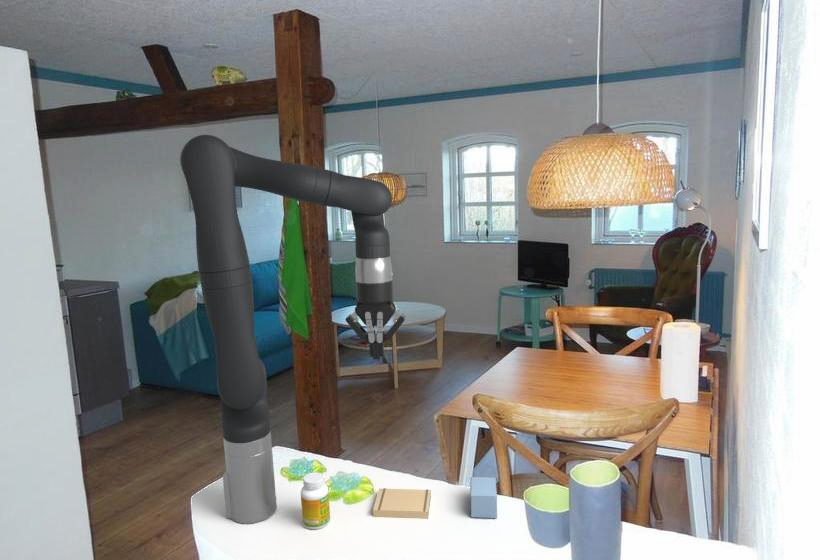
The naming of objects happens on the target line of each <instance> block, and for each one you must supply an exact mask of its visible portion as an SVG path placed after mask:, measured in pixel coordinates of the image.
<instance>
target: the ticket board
mask: <svg viewBox="0 0 820 560" xmlns="http://www.w3.org/2000/svg"><path fill="white" fill-rule="evenodd" d="M431 498H432V491H431V489H412V488H411V489H407V488H386V487H385V488H380V487H379V488H378V491H377V495H376V498H375V502H374V504H373V509H372V516H373V518H376V517H377V518H378V517H379V518H401V519H402V518H404V519H429V515H430V506H431Z"/></svg>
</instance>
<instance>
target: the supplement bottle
mask: <svg viewBox="0 0 820 560" xmlns="http://www.w3.org/2000/svg"><path fill="white" fill-rule="evenodd" d="M302 482H303V483H302V484H303V487H302V488H301V489H300V503H301V515H302V517H301V518H302V519H301V520H302V525H303V526H304V527H305V528H307V529H309V530H319V529H320V530H321V529H324V528H325V527H326V526H328V525H329V523H330V522H331V514H330V513H331V511H330V495H329V487H328V485H327V484H326V483H325V477H324V474H323V473H321V472H316V471H315V472H310V473H307V474H305V475H304V476H303V481H302Z"/></svg>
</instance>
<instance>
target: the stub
mask: <svg viewBox="0 0 820 560" xmlns="http://www.w3.org/2000/svg"><path fill="white" fill-rule="evenodd" d="M469 486H470V491H469V492H470V494H469V495H470V497H469V499H470V501H471V503H470V505H471V507H470V508H471V509H470V512H471V513H470V515H471V516H470V517H471V518H481V519H482V518H483V519H484V518H485V519H487V518H489V519H490V518H491V519H497V518H498V495H497V480H496V477H488V476H487V477H483V476H482V477H481V476H480V477H478V476H471V477H470V485H469Z"/></svg>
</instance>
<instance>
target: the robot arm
mask: <svg viewBox="0 0 820 560" xmlns="http://www.w3.org/2000/svg"><path fill="white" fill-rule="evenodd" d="M179 160H180V167H181V170H182V173H183V175H184V179H185V181H186V185H187V189H188V192H189V196H190V200H191V204H192V208H193V212H194V218H195V219H194V220H195V246H196V247H195V248H196V259H197V270H198V275H199V282H200V287H201V293H202V297H203V302H204V306H205V309H206V313H207V314H206V315H207V317H208V322H209V326H210V328H211V331H212V332H211V333H212V336H213V340H214V341H213V342H214V346H215V359H216V373H217V374H216V375H217V376H216V377H217V379H216V380H217V381H216V388H217V392H218V395H219V397H220V398H219V399H220V407H221V429H222V439H223V448H224V460H225V468H226V470H225V472H224V473H223V474H222V483H223V492H224V493H223V494H224V503H225V513H226V515H225V516H226V519H232V520H233V521H235V522H237V523H240V524H255V523H259V522H262V521H264V520H267V519H268V518H270V517H271V516H272V515H274V514H275V513H276V510H277V495H276V492H277V491H276V482H275V467H274V458H273V457H274V455H273V445H272V444H273V443H272V433H271V431H272V430H271V418H270V407H269V405H270V403H269V395H268V382H267V371H266V367H265V364H264V362H263V361H262V360H261V358H260V356H259V352H258V348H257V341H256V335H255V303H254V299H255V298H254V297H255V296H254V287H253V276H252V271H251V265H250V258H249V255H248V254H249V253H248V250H247V244H246V241H245V237H244V233H243V230H242V226H241V223H240V219H239V215H238V209H237V199H236V187H238V188H245V189H252V190H257V191H261V192H262V191H263V192H266V193H270V194H274V195H278V196H281V197H285V198H288V199H291V200H296V201H299V202H304V203H307V204H314V205H318V206H323V207H329V208H339V209H343V210H347V211H349V212H350V213H351V218H352V224H353V230H354V235H355V237H354V239H355V242H354V243H355V245H354V246H355V269H354V270H355V289H356V291H355V293H356V306H355V307H354V311H353V312H352V313H350V314H348V315H347V316H346V318H345V322H346V323H347V324H348V326H349V327H350V328H351V329H352V330H353V331H354V333H355V334H356V335H357V336H358V338H360V340H361V341H367V342H368V343H369V356H370V357H371V358H372V359H373V360H374V361H375V360H378V361H379V360H381V359H382V358H383V357H384V354H385V341H390V340H391V339H392V338H393V336H395V333H396V332H398V329H400V327H401V326H402V325H403V323H404V322H405V320H406V315H405V314H403V313H400V312H399V311H398V310H397V308H396V305H395V303H394V291H393V289H394V288H393V287H394V286H393V275H394V274H393V266H392V261H391V242H390V234H389V231H388V229H387V228H386V226H385V218H384V214H385V213H386V212H388V211H389V209H390V208H391V207H392V204H393V196H392V192H391V189H390V188H389V187H388V186H387V185H386V184H385V183H384V182H382V181H379V180H374V179H370V178H364V177H357V176H354V175H353V176H351V175H348V174H347V175H346V174H342V173H340V172H337V171H333V170H329V169H327V168H321V167H317V166H312V165H308V164H302V163H295V162H289V161H283V160H277V159H276V160H275V159H270V158H266V157H261V156H257V155H254V154H250V153H247V152H244V151H241V150H239V149H236V148H234V147H231V146H229V145H228V144H227V142H225V140H223V139H221V138H220V137H217V136H215V135H211V134H199V135H197V136H194V137H193V138H191V139H189V140H188V141H187V142H186V143H185V145H184V146H183V148H182V150H181V153H180V159H179ZM392 317H393V319H392ZM359 319H360V321H361V322H362V323H363V324H364V325H365V326H366V329H365V328H364V327H363V325H362V324H361V323H360V322H359ZM391 319H392V322H393V324H392V325H391V327H390V328H389V329H388V330H387V332H385V328H386V325H387V324H388V323H389V321H390V320H391Z"/></svg>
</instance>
